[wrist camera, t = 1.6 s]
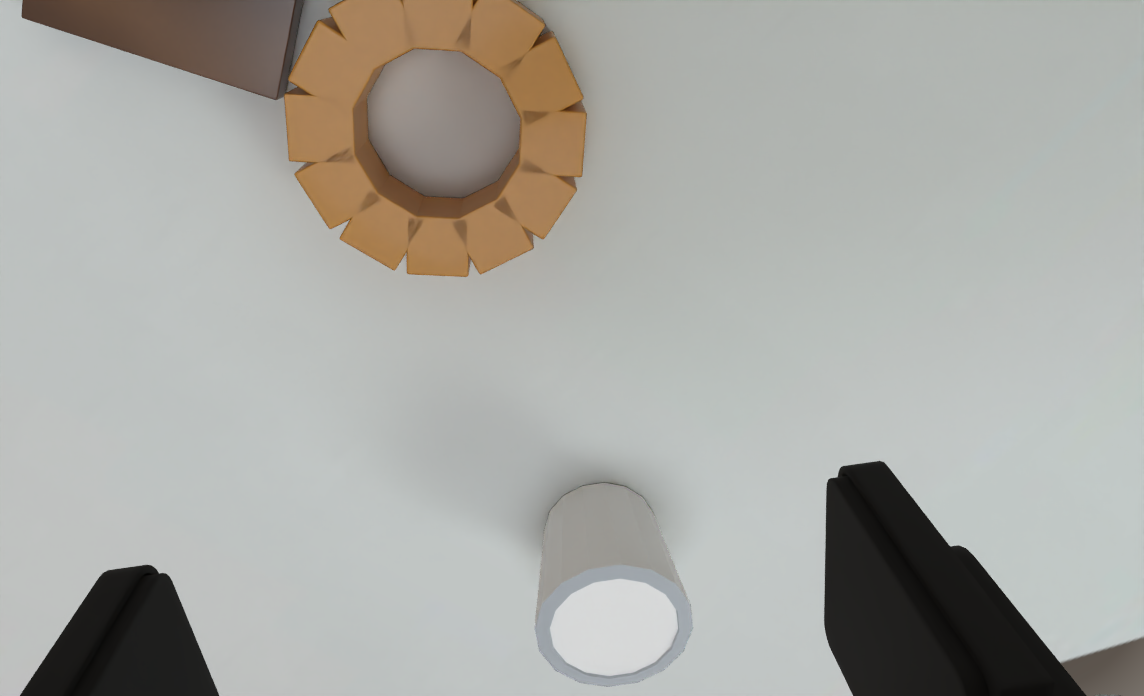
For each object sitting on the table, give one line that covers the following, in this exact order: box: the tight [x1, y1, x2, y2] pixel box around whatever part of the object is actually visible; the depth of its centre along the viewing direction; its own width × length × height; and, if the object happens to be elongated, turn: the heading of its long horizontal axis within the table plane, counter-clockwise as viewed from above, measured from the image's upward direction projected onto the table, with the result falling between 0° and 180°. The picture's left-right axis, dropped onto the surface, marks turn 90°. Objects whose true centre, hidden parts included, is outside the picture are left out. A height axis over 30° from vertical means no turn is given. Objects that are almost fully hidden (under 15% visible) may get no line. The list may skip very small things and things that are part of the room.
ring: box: [284, 0, 587, 277], centre depth 31 cm, size 11×11×3 cm
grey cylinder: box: [535, 483, 693, 687], centre depth 38 cm, size 7×7×7 cm
